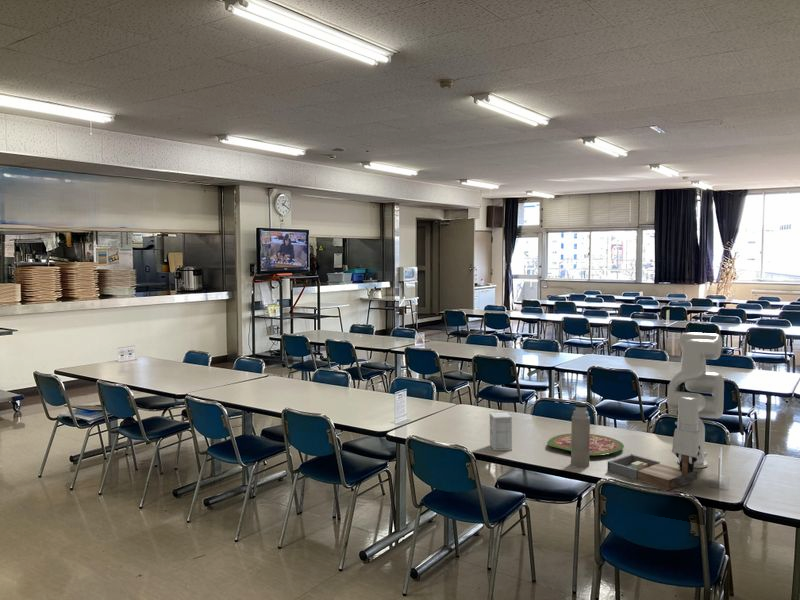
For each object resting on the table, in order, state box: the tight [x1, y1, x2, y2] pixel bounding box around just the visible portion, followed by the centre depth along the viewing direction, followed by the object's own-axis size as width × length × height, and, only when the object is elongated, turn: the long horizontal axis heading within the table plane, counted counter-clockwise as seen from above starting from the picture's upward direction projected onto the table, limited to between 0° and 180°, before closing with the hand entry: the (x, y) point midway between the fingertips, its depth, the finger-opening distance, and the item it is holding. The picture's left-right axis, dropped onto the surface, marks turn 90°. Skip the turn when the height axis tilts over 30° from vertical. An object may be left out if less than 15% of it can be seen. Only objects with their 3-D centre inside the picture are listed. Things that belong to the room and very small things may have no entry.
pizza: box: [546, 433, 625, 457], centre depth 312 cm, size 35×35×2 cm
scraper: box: [675, 455, 698, 488], centre depth 255 cm, size 14×2×14 cm, turn 127°
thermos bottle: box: [570, 402, 591, 469], centre depth 284 cm, size 8×8×28 cm
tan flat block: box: [636, 463, 682, 491], centre depth 264 cm, size 16×14×4 cm
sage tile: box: [631, 461, 643, 471], centre depth 269 cm, size 5×5×2 cm
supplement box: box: [489, 412, 513, 451], centre depth 310 cm, size 10×9×17 cm
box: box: [606, 453, 661, 481], centre depth 275 cm, size 18×14×4 cm
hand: (686, 470), depth 256 cm, fingers closed on scraper, 2 cm apart
